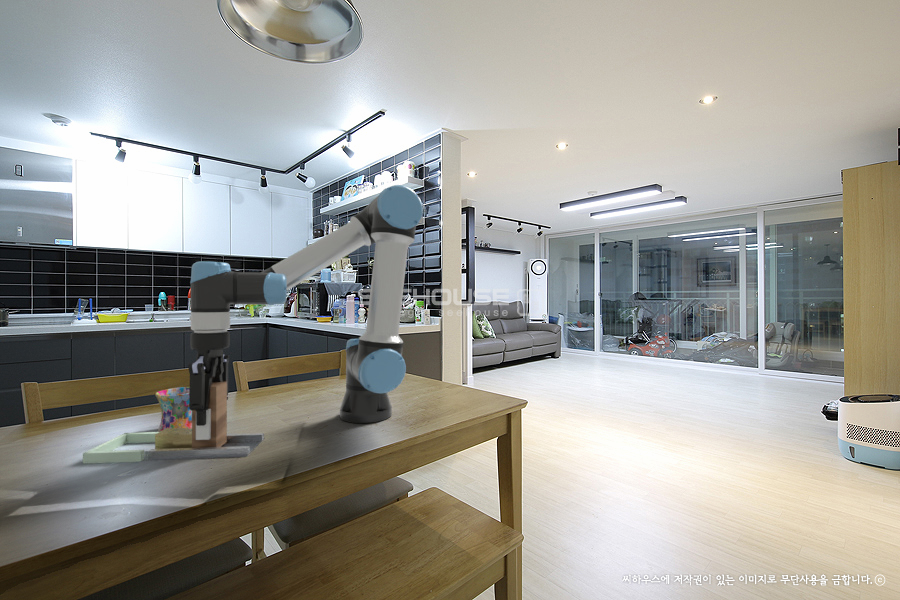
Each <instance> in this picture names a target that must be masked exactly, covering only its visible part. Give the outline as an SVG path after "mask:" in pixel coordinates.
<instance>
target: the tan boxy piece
mask: <svg viewBox="0 0 900 600" xmlns="http://www.w3.org/2000/svg"><path fill="white" fill-rule="evenodd" d="M173 448H192V428H187V429H182V430H181V431H179V432H177V433H176V434H174V435H173Z"/></svg>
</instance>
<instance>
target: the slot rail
mask: <svg viewBox="0 0 900 600" xmlns="http://www.w3.org/2000/svg"><path fill="white" fill-rule="evenodd" d="M264 440H265V433H264V432H255V433H253V432H252V433H249V432H248V433H227V442H226V443H225V444H224V445H222V446H221V447H205V448H173V449H155V448H152V449H150V450H148V451H147V458H146V459H145V461H159V460H161V461H163V460H164V461H166V460H168V461H169V460H194V459H221V458H222V459H223V458H227V459H228V458H246V457H248V456H249V455H250V454H251V453H252V452H253V451H254V450H255V449H256V448H257V447H259V444H262V441H264Z"/></svg>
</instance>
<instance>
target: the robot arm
mask: <svg viewBox="0 0 900 600" xmlns="http://www.w3.org/2000/svg"><path fill="white" fill-rule="evenodd" d="M423 212H424V208H423V203H422V200H421V198H420V197H419V195H418V194H417V193H416V192H415V191H414V190H413V189H412V188H410V187H408V186H406V185H402V184H395V185H392V186H389V187H387V188H384V189H383V190H382V191H381V192H380V193H379V195H377V196H376V197H375V198H374V199H373V200H371V201H370V203H369V204H367V206H366V207H364V208H363V209H362V210H361V211H360V212H358V213H357V214H354V215H353V216H351V217H350V220H349V222H348V223H346V224H344V225H342V226H340V227H338V228H337V229H335V230H334V231H332V232H330V233H328V234H326V235H325V236H323V237H320V239H317V240H316V241H315V242H313V243H310V244H309V245H307V246H305V247H303V248H302V249H300V250H298V251H297V252H295V253H293V254H291V255H289V256H288V257H286V258H285V259H282V260H280V261H279V262H277V263H275V264H273V265H272V266H270V267H269V268H266V269H265V270H263V271H261V272H249V271H248V272H242V271H241V272H240V271H234V270H233V271H232V269H231V265H230V264H229V263H228V262H222V261H221V262H220V261H219V262H218V261H196V262H195V263H193V264H192V265H191V272H190V273H191V275H190V276H191V277H190V282H189V283H190V285H189V286H190V316H189V319H188V320H190V330H191V331H193V332H191V333H190V338H189V339H190V349H191V350H194V351H196V352H197V353H196V358H195V360H196V361H195V362H190V363H188V365H187V368H188V373H189V387H190V391H189V409H190V410H196V440H209V439H210V438H211V409H208V408H209V400H210V387H211V385H212V382H227V401H229V400H228V399H229V396H228V395H229V362H230V355H229V354H224V349H227V348H229V347H230V343H231V342H230V338H231V337H230V336H231V335H230V334H231V333H230V332H229V331H228V330H230V328H231V310H230V309H231V308H230V306H231V305H252V306H253V305H255V306H256V305H263V306H264V305H265V306H266V305H267V306H268V305H269V306H274V305H284V304H285V303H286V302H287V291H289V290H291V289H292V288H293V287H296V286H297V285H299V284H301V283H302V282H304V281H305V280H307V279H309V278H311V277H313V276H315V275H316V274H318V273H319V272H321V271H323V270H324V269H326V268H327V267H329V266H331V265H333V264H334V263H336V262H337V261H339V260H341V259H343V258H344V257H347V256H348V255H349V254H351V253H353V252H355V251H356V250H358V249H360V248H361V247H363V246H366V247H370V246H372V245H374V244H375V246H374V255H373V256H374V257H373V265H372V274H371V282H370V283H371V285H370V293H369V301H368V310H367V319H366V327H365V328H366V329H365V332H364V333H363V334H361V336H359V337H358V338H350V339H348V340H347V341H346V344H345V345H346V346H345V352H346V353H345V354H346V355H345V358H346V359H345V360H346V361H345V364H346V365H345V366H346V367H345V392H344V396H343V399H342V402H341V405H340V408H339V419H340V420H342V421H344V422H348V423H352V424H354V423H355V424H369V423H377V422H381V421H384V420H387V419H389V418H391V417H392V413H393V409H392V404H391V401H390V397H389V394H388V393H390V392H392V391H394V390H395V389H396V388H398V387H399V386H400V385H401V384H402V382H403V381H404V378H405V376H406V373H407V371H406V370H407V365H406V362H405V359H404V357H403V349H404V348H403V347H404V341H403V339H402V338H401V337H400V334H399V333H400V322H401V315H402V314H401V312H402V306H403V305H402V304H403V295H404V285H405V284H404V283H405V277H406V267H407V259H408V258H407V257H408V248H409V246H410V245H411V244H413V243H414V242H415V235H416V228H417V226H418V224H419V223H420V221H421V220H422V216H423Z"/></svg>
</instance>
